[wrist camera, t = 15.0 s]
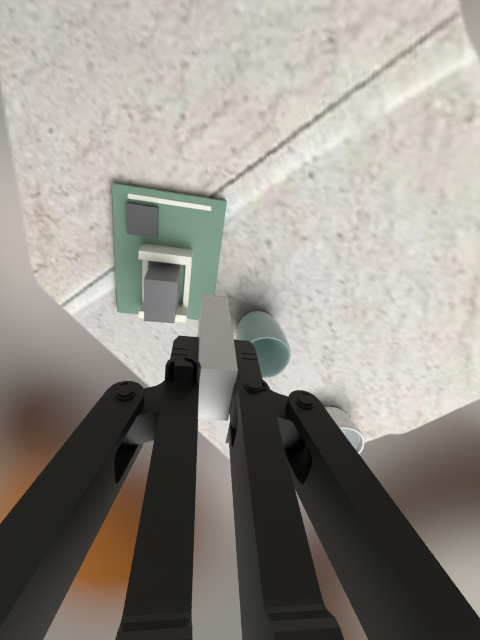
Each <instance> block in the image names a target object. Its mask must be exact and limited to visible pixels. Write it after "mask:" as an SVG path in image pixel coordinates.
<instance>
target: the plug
mask: <svg viewBox="0 0 480 640" xmlns="http://www.w3.org/2000/svg"><path fill="white" fill-rule="evenodd" d="M180 277H181V264H173V263H164V262H156V261H152V263H151V265H150V267H149V269H148V271H147V273H146V275H145V277H144V321H153V322H166V323H175V318H176V313H177V307H178V302H179V295H180Z"/></svg>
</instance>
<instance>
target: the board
mask: <svg viewBox="0 0 480 640" xmlns="http://www.w3.org/2000/svg"><path fill="white" fill-rule="evenodd" d="M112 203H113V226H114V248H115V271H116V294H117V312H121V313H132V314H139V318H141V319H144V277H145V275H146V273H147V271H148V269H149V267H150V265H151V263H152V261H156V262H164V263H173V264H181V277H180V295H179V302H178V307H177V313H176V318H175V322H185V323H186V319H196V320H199V318H200V309H201V299H202V295H212V296H214V294H215V287H216V279H217V271H218V264H219V256H220V248H221V241H222V233H223V226H224V218H225V210H226V203H227V201H226V200H221V199H214V198H208V197H202V196H195V195H189V194H183V193H177V192H170V191H164V190H158V189H151V188H145V187H139V186H132V185H126V184H120V183H112Z"/></svg>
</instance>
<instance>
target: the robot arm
mask: <svg viewBox="0 0 480 640" xmlns="http://www.w3.org/2000/svg"><path fill="white" fill-rule="evenodd" d="M229 413H230V425H229V429H228V434H227V439H226V443H229V448H230V462H231V477H232V492H233V507H234V522H235V535H236V551H237V566H238V581H239V596H240V610H241V625H242V639H243V640H344V638H343V635H342V632H341V629H340V627H339V625H338V623H337V621H336V619H335V617H334V616H333V615H332V614H331V613H330V612H329V611H328V610H327V609H326V607H325V605H324V602H323V599H322V596H321V592H320V588H319V584H318V580H317V576H316V572H315V568H314V564H313V560H312V556H311V552H310V548H309V544H308V540H307V536H306V532H305V528H304V524H303V520H302V516H301V512H300V508H299V504H298V500H297V496H296V492H297V494H298V496H299V498H300V500H301V502H302V504H303V506H304V508H305V510H306V512H307V515H308V517H309V518H310V520H311V523H312V525H313V527H314V529H315V531H316V533H317V535H318V537H319V539H320V541H321V543H322V545H323V547H324V549H325V552H326V553H327V556H328V558H329V560H330V562H331V564H332V566H333V568H334V570H335V572H336V574H337V576H338V578H339V580H340V582H341V584H342V586H343V589H344V591H345V593H346V595H347V597H348V599H349V601H350V603H351V605H352V607H353V609H354V611H355V613H356V615H357V617H358V619H359V621H360V623H361V625H362V628H363V630H364V632H365V633H366V636H367V638H368V640H480V618H479V617H478V615H477V614H476V613H475V611H474V610H473V609H472V607H471V606H470V604H469V603H468V602H467V600H466V599H465V597H464V596H463V595H462V593H461V592H460V591H459V589H458V588H457V587H456V585H455V584H454V583H453V581H452V580H451V579H450V577H449V576H448V574H447V573H446V572H445V570H444V569H443V568H442V566H441V565H440V564H439V562H438V561H437V560H436V558H435V557H434V555H433V554H432V553H431V551H430V550H429V549H428V547H427V546H426V545H425V543H424V542H423V540H422V539H421V538H420V537H419V535H418V534H417V532H416V531H415V530H414V528H413V527H412V526H411V524H410V523H409V521H408V520H407V519H406V517H405V516H404V515H403V513H402V512H401V511H400V509H399V508H398V507H397V505H396V504H395V503H394V501H393V500H392V498H391V497H390V496H389V494H388V493H387V492H386V490H385V489H384V488H383V486H382V485H381V484H380V482H379V481H378V479H377V478H376V477H375V475H374V474H373V473H372V471H371V470H370V469H369V467H368V466H367V465H366V463H365V462H364V460H363V459H362V458H361V456H360V455H359V454H358V452H357V451H356V450H355V448H354V447H353V446H352V444H351V443H350V441H349V440H348V439H347V437H346V436H345V435H344V433H343V432H342V431H341V429H340V428H339V427H338V425H337V424H336V422H335V421H334V420H333V418H332V417H331V416H330V414H329V413H328V412H327V410H326V409H325V408H324V406H323V405H322V403H321V402H320V401H319V400H318V399H317V398H316V397H315V396H314V395H313V394H311V393H309V392H306V391H303V390H296V391H293V392H291V393H290V395H289V397H288V396H285V395H281V394H278V393H276V392H273V391H272V390H270V388H269V386H268V384H267V383H266V382H265V381H264V380H263V379H262V375H261V370H260V366H259V362H258V358H257V353H256V349H255V346H254V345H253V344H252V343H251V342H250V341H245V340H234V338H233V330H232V323H231V315H230V308H229V300H228V297H221V296H212V295H202V299H201V309H200V318H199V327H198V337H189V336H178V337H177V338H176V339H175V340H174V341H173V347H172V353H171V358H170V360H168V362H167V363H166V370H165V380H164V381H163V382H162V383H161V384H159V385H157V386H153V387H149V388H144V389H143V387H142V386H141V385H140V384H138V383H136V382H133V381H123V382H118V383H116V384H114V385H112V386H111V387H110V388H109V389H107V391H106V392H105V393H104V395H103V396H102V397H101V398H100V399H99V401H98V402H97V403H96V405H95V406H94V407H93V408H92V409H91V411H90V412H89V413H88V414H87V416H86V417H85V418H84V419H83V421H82V422H81V423H80V425H79V426H78V427H77V428H76V430H75V431H74V432H73V433H72V435H71V436H70V437H69V438H68V440H67V441H66V442H65V443H64V445H63V446H62V447H61V448H60V450H59V451H58V452H57V454H56V455H55V456H54V457H53V459H52V460H51V461H50V462H49V464H48V465H47V466H46V467H45V469H44V470H43V471H42V472H41V474H40V475H39V476H38V477H37V478H36V480H35V481H34V482H33V484H32V485H31V486H30V487H29V489H28V490H27V491H26V492H25V494H24V495H23V496H22V497H21V499H20V500H19V501H18V502H17V504H16V505H15V506H14V507H13V509H12V510H11V511H10V512H9V514H8V515H7V516H6V518H5V519H4V520H3V521H2V522H1V524H0V640H43V639H44V637H45V635H46V633H47V631H48V629H49V627H50V625H51V623H52V621H53V619H54V617H55V615H56V613H57V611H58V609H59V607H60V605H61V603H62V602H63V599H64V598H65V596H66V594H67V592H68V590H69V588H70V586H71V584H72V582H73V580H74V578H75V576H76V574H77V572H78V570H79V569H80V567H81V565H82V563H83V561H84V559H85V557H86V555H87V553H88V551H89V549H90V547H91V545H92V543H93V541H94V539H95V537H96V536H97V534H98V532H99V530H100V528H101V526H102V524H103V522H104V520H105V518H106V516H107V514H108V512H109V510H110V508H111V506H112V504H113V502H114V500H115V499H116V497H117V495H118V493H119V491H120V489H121V487H122V485H123V483H124V481H125V479H126V477H127V475H128V473H129V471H130V469H131V467H132V465H133V464H134V461H135V460H136V458H137V455H138V454H139V452H140V450H141V448H142V446H143V443H145V442H149V441H153V440H154V445H153V450H152V456H151V461H150V467H149V472H148V478H147V483H146V490H145V495H144V500H143V506H142V512H141V517H140V522H139V528H138V533H137V539H136V545H135V550H134V556H133V561H132V566H131V572H130V577H129V584H128V588H127V594H126V600H125V605H124V611H123V616H122V620H121V624H120V627H119V629H118V632H117V636H116V640H192V620H191V608H192V578H193V549H194V520H195V491H196V462H197V461H196V460H197V433H198V419H208V420H228V418H229ZM295 490H296V492H295Z"/></svg>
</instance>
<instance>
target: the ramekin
mask: <svg viewBox="0 0 480 640" xmlns="http://www.w3.org/2000/svg"><path fill="white" fill-rule="evenodd" d="M324 408H325V409H326V410H327V412H328V413H329V414H330V416H331V417H332V418H333V420H334V421H335V422H336V424H337V425H338V427H339V428H340V429H341V431H342V432H343V433H344V435H345V436H346V437H347V439H348V440H349V441H350V443H351V444H352V446H353V447H354V448H355V450H356V451H357V452H358V454H360V452H361V451H362V449H363V447H364V437H363V435H362V433H361V431H360V430H359V429H358V428H357V427H356V426H355V424H354V423H353V421H352V420H351V419H350V417H349V416H348V415H347V414H346V413H345V412H344V411H343V410H341V409H339V408H335V407H324Z"/></svg>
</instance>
